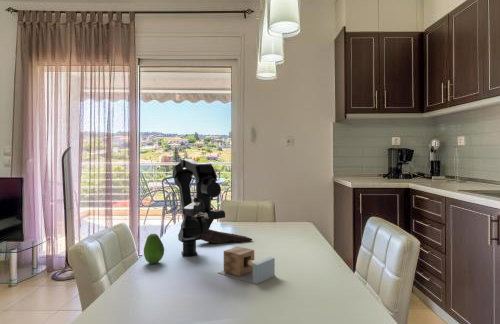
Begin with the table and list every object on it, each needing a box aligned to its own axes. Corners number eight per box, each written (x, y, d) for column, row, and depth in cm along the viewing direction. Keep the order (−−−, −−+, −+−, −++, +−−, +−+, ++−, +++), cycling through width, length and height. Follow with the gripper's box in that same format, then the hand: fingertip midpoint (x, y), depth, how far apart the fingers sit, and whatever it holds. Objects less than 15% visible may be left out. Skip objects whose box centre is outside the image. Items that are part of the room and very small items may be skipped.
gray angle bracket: (217, 273, 130) (217, 255, 130) (237, 265, 138) (237, 249, 138) (256, 284, 118) (256, 265, 118) (275, 275, 127) (275, 257, 127)
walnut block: (223, 271, 130) (223, 250, 130) (238, 266, 136) (237, 246, 136) (240, 276, 125) (240, 254, 125) (254, 270, 131) (254, 249, 131)
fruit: (168, 261, 145) (167, 232, 144) (158, 267, 137) (157, 236, 137) (150, 259, 147) (150, 231, 147) (139, 265, 139) (139, 235, 139)
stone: (193, 237, 169) (203, 217, 171) (192, 235, 175) (201, 216, 177) (245, 259, 174) (254, 239, 176) (243, 257, 180) (251, 238, 182)
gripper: (172, 195, 140) (172, 234, 140) (205, 198, 128) (205, 241, 128) (193, 192, 148) (193, 229, 148) (226, 195, 136) (226, 236, 137)
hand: (203, 234), depth 140 cm, fingers closed
